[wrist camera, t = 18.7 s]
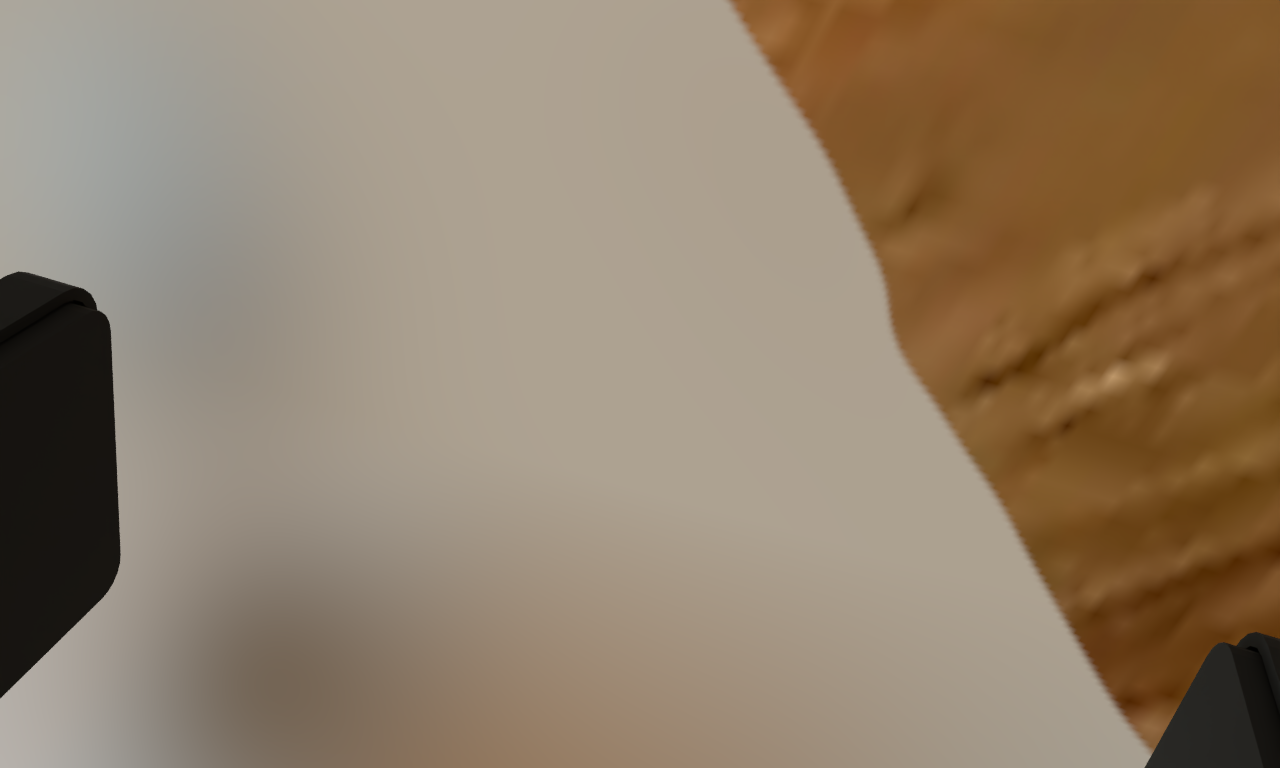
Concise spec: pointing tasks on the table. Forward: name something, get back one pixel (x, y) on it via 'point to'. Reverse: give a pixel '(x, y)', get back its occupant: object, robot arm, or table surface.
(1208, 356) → the table surface
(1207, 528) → the table surface
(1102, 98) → the table surface
